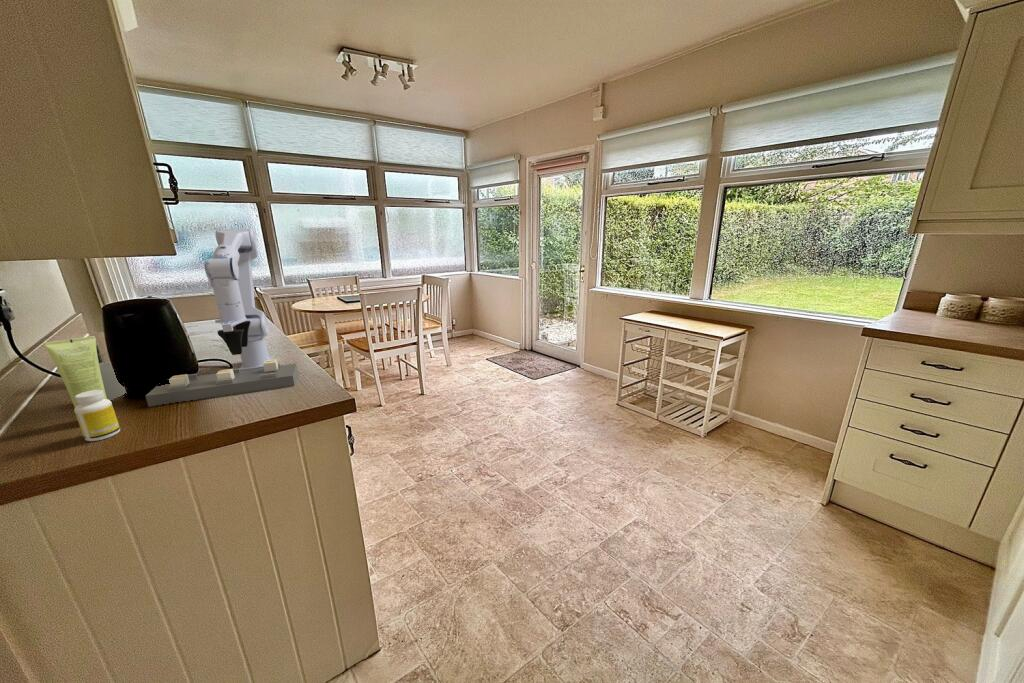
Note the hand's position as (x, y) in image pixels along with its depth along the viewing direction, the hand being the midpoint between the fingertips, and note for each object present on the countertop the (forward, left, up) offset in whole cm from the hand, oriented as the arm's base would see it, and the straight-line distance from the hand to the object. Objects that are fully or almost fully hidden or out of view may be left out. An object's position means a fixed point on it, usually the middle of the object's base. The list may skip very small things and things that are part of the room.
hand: (240, 350), depth 107 cm
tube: (+13, -27, -10) cm, 31 cm away
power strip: (+4, -3, -9) cm, 11 cm away
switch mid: (+6, -3, -6) cm, 9 cm away
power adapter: (-1, -30, -10) cm, 32 cm away
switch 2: (+2, +7, -6) cm, 10 cm away
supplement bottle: (+23, -22, -10) cm, 33 cm away
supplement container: (-18, -41, -10) cm, 46 cm away
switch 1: (+6, -13, -6) cm, 16 cm away
